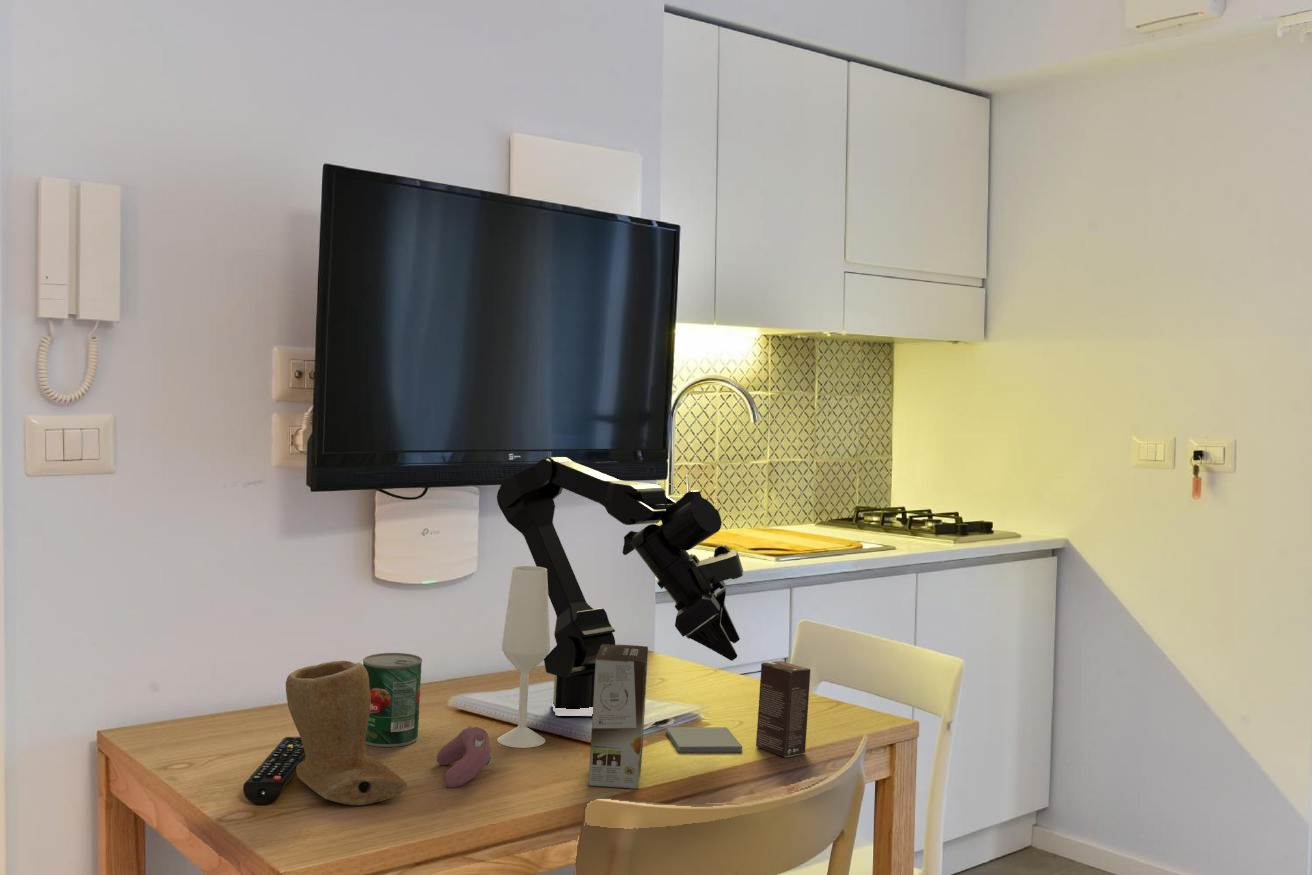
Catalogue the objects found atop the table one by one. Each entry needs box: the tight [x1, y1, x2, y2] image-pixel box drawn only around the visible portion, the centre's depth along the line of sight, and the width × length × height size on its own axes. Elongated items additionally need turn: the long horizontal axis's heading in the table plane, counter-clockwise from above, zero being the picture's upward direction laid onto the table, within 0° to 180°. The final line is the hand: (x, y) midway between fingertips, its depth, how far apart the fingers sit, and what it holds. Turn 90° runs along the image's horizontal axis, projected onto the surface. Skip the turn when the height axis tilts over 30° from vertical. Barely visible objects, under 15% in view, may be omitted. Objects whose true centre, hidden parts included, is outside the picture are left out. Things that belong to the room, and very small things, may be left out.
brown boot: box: [285, 660, 408, 806], centre depth 135 cm, size 15×12×15 cm
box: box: [755, 660, 811, 758], centre depth 160 cm, size 6×4×12 cm
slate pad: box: [665, 726, 743, 753], centre depth 162 cm, size 9×9×1 cm
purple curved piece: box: [436, 724, 492, 789], centre depth 143 cm, size 10×5×7 cm, turn 17°
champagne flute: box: [496, 565, 551, 749], centre depth 158 cm, size 7×7×24 cm
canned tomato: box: [362, 652, 423, 748], centre depth 156 cm, size 8×8×11 cm
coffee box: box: [588, 644, 649, 789], centre depth 145 cm, size 9×6×16 cm
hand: (736, 649), depth 163 cm, fingers open, 9 cm apart
